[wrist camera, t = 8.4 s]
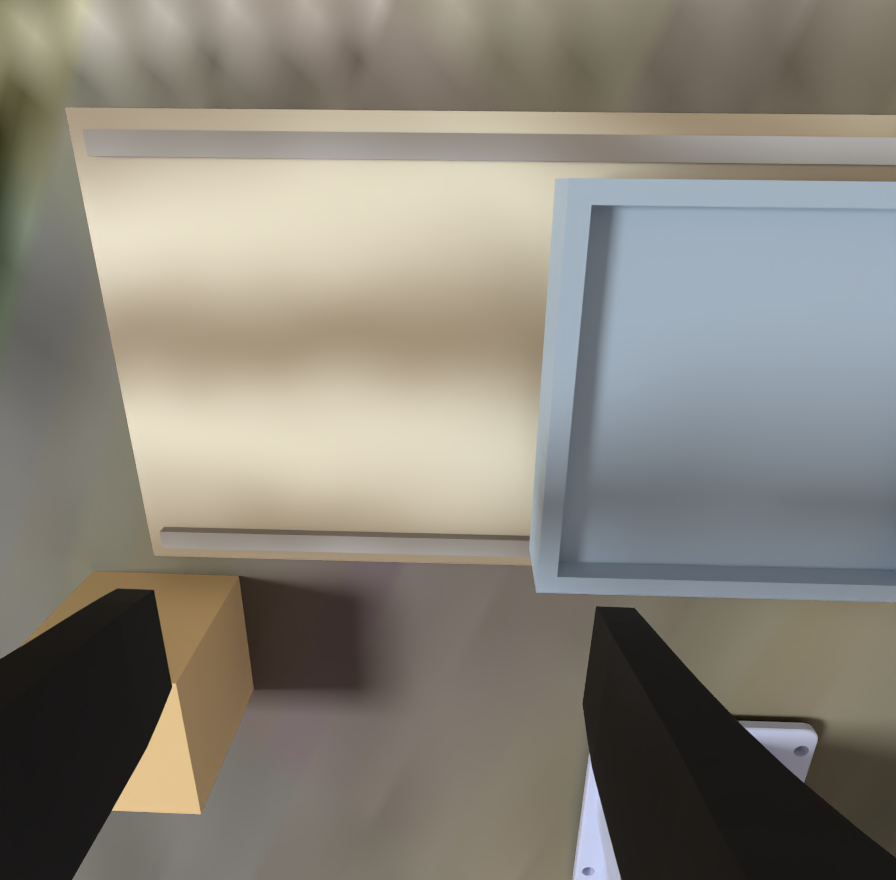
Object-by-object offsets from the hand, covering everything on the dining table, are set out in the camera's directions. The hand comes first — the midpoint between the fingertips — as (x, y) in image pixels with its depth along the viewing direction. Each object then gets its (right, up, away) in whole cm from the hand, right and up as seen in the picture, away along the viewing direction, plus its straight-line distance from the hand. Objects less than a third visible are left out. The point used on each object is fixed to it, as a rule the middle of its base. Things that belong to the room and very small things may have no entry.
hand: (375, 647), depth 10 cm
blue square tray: (+9, +5, +7) cm, 13 cm away
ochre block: (-8, -3, +12) cm, 15 cm away
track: (+4, +5, +8) cm, 10 cm away
